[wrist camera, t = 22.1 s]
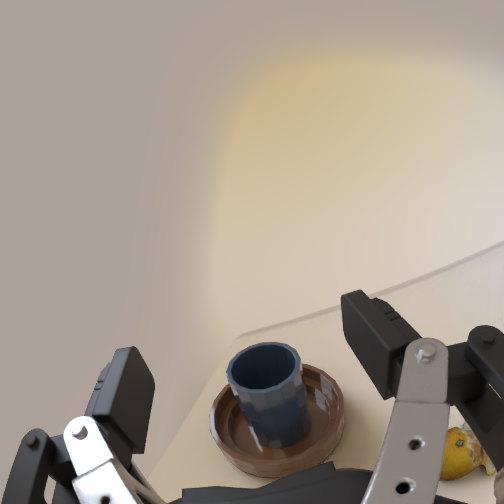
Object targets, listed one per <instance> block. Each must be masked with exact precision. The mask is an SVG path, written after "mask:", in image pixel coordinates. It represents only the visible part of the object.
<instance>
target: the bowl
mask: <svg viewBox="0 0 504 504" xmlns="http://www.w3.org/2000/svg"><path fill="white" fill-rule="evenodd" d="M302 369H303V375H304V380H305V386H306V392H307V398H308V403H309V409H310V415H311V426H310V429H309V431H308V433H307V434H306V436H305V437H304V438H303V439H302V440H301V441H299V442H298V443H296V444H294V445H292V446H290V447H286V448H278V449H277V448H269V447H266V446H263V445H262V444H260V443H259V442H257V441H256V439H255V438H254V436H253V435H252V433H251V431H250V429H249V427H248V425H247V423H246V420H245V418H244V416H243V414H242V412H241V409H240V407H239V405H238V403H237V400H236V398H235V396H234V393H233V391H232V389H231V386H230V384H228V385H226V386H225V387H224V388H223V390H222V391H221V392H220V393H219V395H218V396H217V397H216V399H215V400H214V403H213V406H212V408H211V411H210V414H209V422H210V431H211V433H212V435H213V437H214V439H215V441H216V443H217V445H218V447H219V448H220V449H221V451H222V452H223V454H224V455H225V457H226V458H227V459H228V460H229V461H230V462H231V463H232V464H234V465H235V466H236V467H237V468H239V469H240V470H242V471H244V472H247V473H250V474H253V475H256V476H259V477H280V478H282V477H285V476H287V475H290V474H292V473H294V472H296V471H300V470H304V469H308V468H311V467H314V466H316V465H317V464H319V463H320V462H322V461H324V460H325V459H326V458H327V456H328V455H329V454H330V453H331V452H332V451H333V450H334V448H335V447H336V446H337V445H338V443H339V440H340V437H341V435H342V432H343V429H344V404H343V394H342V392H341V390H340V388H339V386H338V385H337V383H336V381H335V380H334V379H333V378H331V377H330V376H329V375H328V374H327V373H325V372H324V371H323V370H320V369H318V368H315V367H313V366H310V365H308V364H302Z"/></svg>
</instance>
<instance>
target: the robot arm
mask: <svg viewBox="0 0 504 504" xmlns="http://www.w3.org/2000/svg"><path fill="white" fill-rule="evenodd" d="M341 309H342V321H343V331H344V335H345V338H346V341H347V343H348V344H349V346H350V347H351V349H352V350H353V352H354V354H355V355H356V357H357V358H358V360H359V361H360V363H361V365H362V366H363V368H364V369H365V371H366V372H367V374H368V376H369V377H370V379H371V380H372V382H373V384H374V385H375V387H376V388H377V390H378V392H379V393H380V395H381V396H382V398H383V400H387V399H389V398H391V397H393V396H394V397H395V399H396V400H395V403H394V406H393V410H392V414H391V418H390V422H389V425H388V429H387V432H386V436H385V439H384V442H383V445H382V449H381V452H380V455H379V458H378V461H377V464H376V466H375V469H374V472H373V471H370V470H364V469H355V468H342V469H335V466H334V464H333V461H331V462H328V463H325V464H321V465H318V466H315V467H311V468H308V469H304V470H300V471H296V472H294V473H292V474H290V475H287V476H285V477H283V478H281V479H279V480H276V481H274V482H272V483H270V484H267V485H265V486H263V487H260V488H256V489H249V488H233V487H222V486H212V487H201V488H186V489H182V498H180V499H177V500H174V501H172V502H170V503H168V504H468V503H464V502H460V501H456V500H453V499H449V498H446V497H442V496H439V495H436V491H437V487H438V482H439V478H440V473H441V469H442V464H443V458H444V452H445V446H446V440H447V432H448V424H449V414H450V406H453V405H455V406H456V407H457V409H458V410H459V412H460V413H461V415H462V416H463V418H464V419H465V421H466V422H467V424H468V425H469V427H470V428H471V430H472V431H473V433H474V434H475V436H476V437H477V439H478V441H479V442H480V444H481V445H482V447H483V449H484V450H485V452H486V453H487V455H488V457H489V458H490V460H491V462H492V463H493V465H494V467H495V468H496V470H497V472H498V473H497V475H496V478H495V481H494V496H495V497H496V504H504V334H503V333H502V332H501V331H500V330H499V329H497V328H495V327H493V326H488V325H482V326H478V327H475V328H474V329H472V330H471V332H470V333H469V336H468V340H467V342H463V343H459V344H454V345H450V346H446V345H445V344H444V343H442V342H441V341H439V340H437V339H434V338H422V337H421V336H420V335H419V334H418V333H417V332H416V331H415V330H414V329H413V328H412V327H411V326H410V325H409V324H408V322H407V321H406V320H405V319H404V318H403V317H401V315H399V314H398V313H397V312H396V311H395V310H394V309H393V308H392V307H391V306H390V305H389V304H388V303H387V302H385V301H383V300H380V299H378V298H373V299H370V298H369V297H368V296H367V295H366V294H365V293H364V292H363V291H362V290H357V291H353V292H350V293H347V294H344V295H342V296H341ZM489 384H490V385H491V386H492V387H493V388H492V387H491V386H490V385H489ZM94 389H95V391H93V393H92V396H91V399H90V401H89V403H88V406H87V409H86V411H85V414H84V416H81V417H78V418H76V419H74V420H72V421H71V422H70V423H69V424H68V425H67V426H66V428H65V430H64V434H61V435H58V436H54V437H49V436H48V435H47V434H46V433H45V432H44V431H43V430H42V429H33V430H31V431H29V432H28V433H27V434H26V435H25V436H24V437H23V439H22V441H21V444H20V447H19V449H18V452H17V455H16V457H15V461H14V463H13V466H12V469H11V472H10V475H9V478H8V481H7V485H6V488H5V491H4V495H3V498H2V503H1V504H47V503H46V501H45V498H44V490H45V487H46V482H47V478H48V475H49V476H50V477H51V478H52V479H54V480H55V481H56V486H55V490H54V495H53V500H52V504H167V503H166V502H164V501H163V500H162V499H161V498H160V497H159V496H158V494H157V493H156V492H155V491H154V489H153V488H152V487H151V485H150V484H149V483H148V481H147V480H146V479H145V477H144V476H143V475H142V473H141V472H140V470H139V469H138V467H137V466H136V465H135V463H134V462H133V461H132V460H131V459H132V454H144V450H145V443H146V437H147V431H148V424H149V419H150V413H151V407H152V402H153V396H154V390H155V383H154V378H153V376H152V374H151V372H150V371H149V369H148V367H147V365H146V363H145V362H144V360H143V358H142V356H141V354H140V352H139V351H138V349H137V348H136V347H134V346H132V347H127V348H122V349H117V350H116V351H115V354H114V356H113V359H112V361H111V363H108V364H107V366H106V367H105V368H104V369H103V370H102V371H101V374H100V376H99V378H98V383H96V386H95V388H94ZM493 389H494V390H495V391H496V392H497V393H496V392H495V391H494V390H493ZM497 394H498V395H499V396H500V397H501V398H500V397H499V396H498V395H497ZM501 399H502V400H501Z"/></svg>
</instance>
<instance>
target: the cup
mask: <svg viewBox="0 0 504 504" xmlns="http://www.w3.org/2000/svg"><path fill="white" fill-rule="evenodd" d="M226 373H227V378H228V382H229V384H230V386H231V389H232V391H233V393H234V396H235V398H236V400H237V403H238V405H239V407H240V409H241V412H242V414H243V416H244V418H245V420H246V423H247V425H248V427H249V429H250V431H251V433H252V435H253V436H254V438H255V439H256V441H257V442H259V443H260V444H262V445H263V446H266V447H269V448H277V449H278V448H286V447H290V446H292V445H294V444H296V443H298V442H299V441H301V440H302V439H303V438H304V437H305V436H306V434H307V433H308V431H309V429H310V426H311V415H310V409H309V403H308V398H307V392H306V386H305V380H304V375H303V369H302V364H301V358H300V356H299V355H298V353H297V351H296V350H295V349H294V348H292V347H291V346H289V345H287V344H284V343H279V342H263V343H259V344H256V345H252V346H249V347H247V348H246V349H244V350H242V351H241V352H239V353H237V354H236V356H235V357H234V358H233V359H232V360H231V361H230V362H229V365H228V368H227V371H226Z"/></svg>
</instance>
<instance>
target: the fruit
mask: <svg viewBox="0 0 504 504" xmlns="http://www.w3.org/2000/svg"><path fill="white" fill-rule="evenodd" d="M463 428H464V429H460V428H458V427H454V428H451V429H449V430H448V432H447V440H446V446H445V452H444V458H443V464H442V469H441V473H440V478H439V479H442V480H445V479H446V480H447V481H450V480H454V479H456V478H459V477H462V476H464V475H466V474H468V473H469V472H471V471H472V470H473V469H474V468H475V467H478V466H480V465H484V466H485V467H486V469H487V471H486V474H487V475H489V476H490V475H492V474H493V473H494V472H495V470H496V468H495V467H494V465H493V463H492V462H491V460H490V458H489V457H488V455H487V453H486V452H485V450H484V449H483V447H480V442H479V441H478V439H477V437H476V436H475V434H474V433H473V431H472V430H471V428H470V427H469V425H468V424H467V422H465V423H464V426H463Z"/></svg>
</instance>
